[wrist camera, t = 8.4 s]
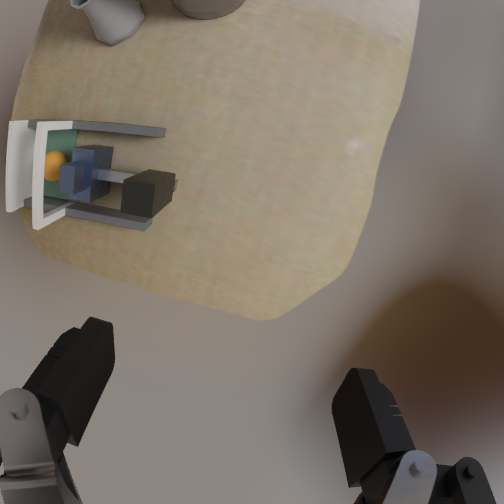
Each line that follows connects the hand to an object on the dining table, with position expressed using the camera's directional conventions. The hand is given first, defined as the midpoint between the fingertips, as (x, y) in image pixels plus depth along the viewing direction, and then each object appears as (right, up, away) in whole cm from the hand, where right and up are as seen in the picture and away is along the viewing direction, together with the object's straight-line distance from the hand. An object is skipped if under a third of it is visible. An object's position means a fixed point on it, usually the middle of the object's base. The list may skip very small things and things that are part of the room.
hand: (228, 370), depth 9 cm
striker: (-14, +13, +25) cm, 31 cm away
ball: (-25, +15, +22) cm, 36 cm away
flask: (-16, +33, +17) cm, 41 cm away
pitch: (-21, +15, +24) cm, 35 cm away
